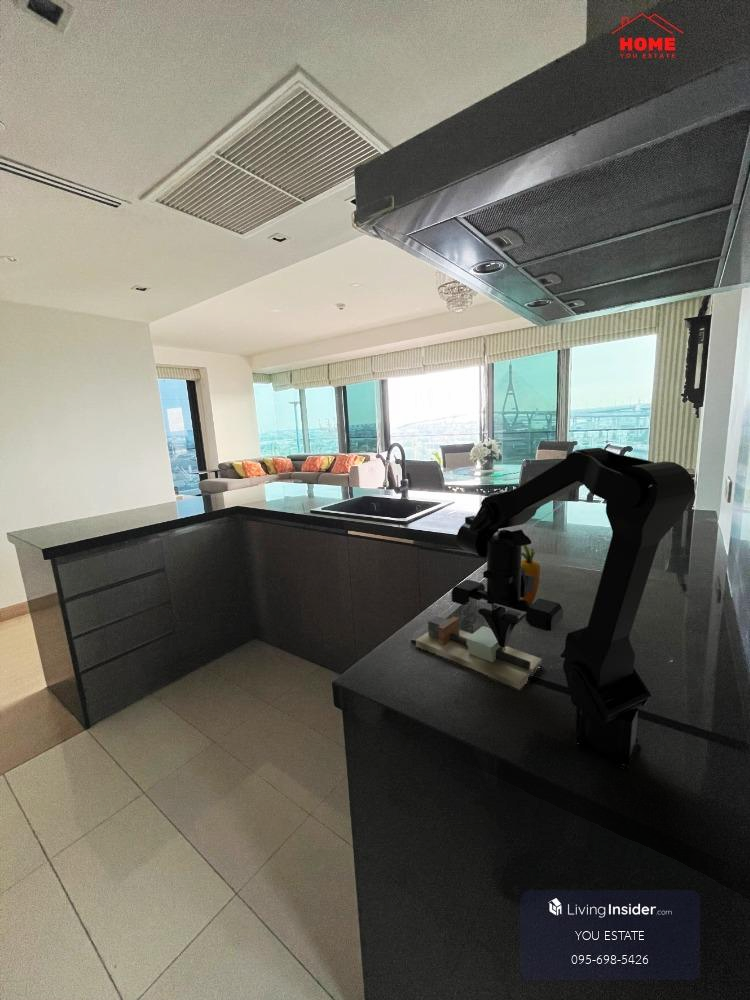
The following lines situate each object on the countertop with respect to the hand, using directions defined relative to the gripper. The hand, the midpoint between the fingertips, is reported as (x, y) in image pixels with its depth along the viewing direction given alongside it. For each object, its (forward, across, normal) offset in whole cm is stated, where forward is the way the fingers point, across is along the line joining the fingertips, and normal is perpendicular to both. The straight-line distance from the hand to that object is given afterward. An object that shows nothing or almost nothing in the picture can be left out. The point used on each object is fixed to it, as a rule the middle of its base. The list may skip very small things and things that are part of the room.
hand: (503, 646), depth 75 cm
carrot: (+4, +7, -26) cm, 27 cm away
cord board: (+4, +6, 0) cm, 7 cm away
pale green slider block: (+2, +3, 0) cm, 4 cm away
